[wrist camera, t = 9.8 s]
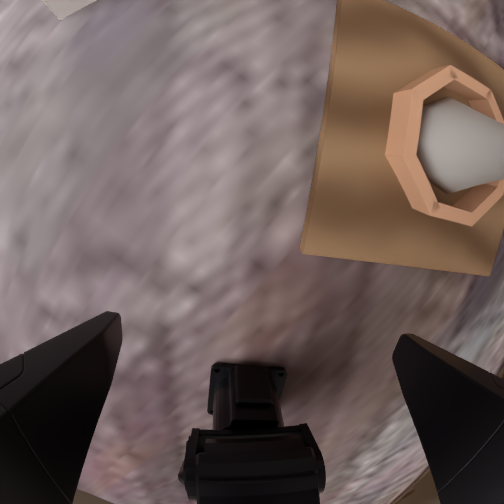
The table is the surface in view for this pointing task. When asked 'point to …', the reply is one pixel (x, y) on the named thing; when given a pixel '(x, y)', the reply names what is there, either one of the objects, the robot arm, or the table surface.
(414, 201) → the ring
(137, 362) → the table surface
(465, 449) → the robot arm
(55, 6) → the grater
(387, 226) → the board
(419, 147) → the flask
